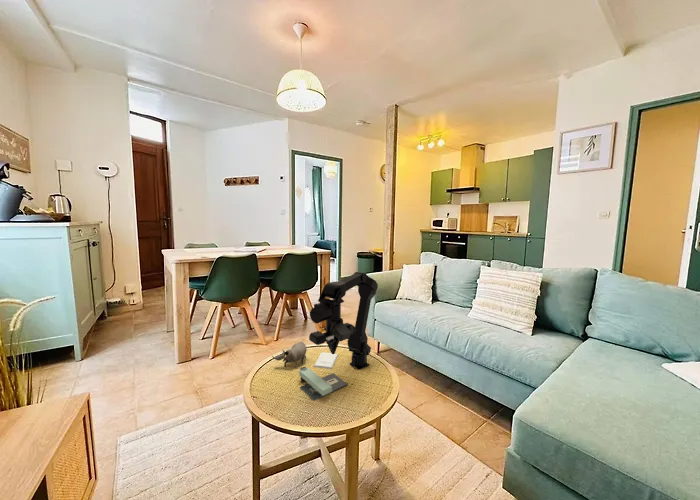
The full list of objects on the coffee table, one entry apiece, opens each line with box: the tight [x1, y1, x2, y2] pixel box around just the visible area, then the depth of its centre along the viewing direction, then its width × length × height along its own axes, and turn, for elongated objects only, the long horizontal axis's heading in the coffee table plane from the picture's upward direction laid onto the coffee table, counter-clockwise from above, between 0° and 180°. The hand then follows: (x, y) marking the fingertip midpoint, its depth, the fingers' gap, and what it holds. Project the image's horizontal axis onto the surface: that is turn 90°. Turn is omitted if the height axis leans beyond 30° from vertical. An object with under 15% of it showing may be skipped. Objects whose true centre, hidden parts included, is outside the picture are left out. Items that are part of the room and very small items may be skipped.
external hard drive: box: [313, 351, 339, 370], centre depth 134 cm, size 2×8×12 cm
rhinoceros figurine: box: [271, 341, 308, 369], centre depth 130 cm, size 8×14×15 cm
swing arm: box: [298, 366, 333, 397], centre depth 112 cm, size 18×4×2 cm, turn 39°
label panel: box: [299, 373, 349, 402], centre depth 116 cm, size 16×15×2 cm
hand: (333, 353), depth 114 cm, fingers closed
